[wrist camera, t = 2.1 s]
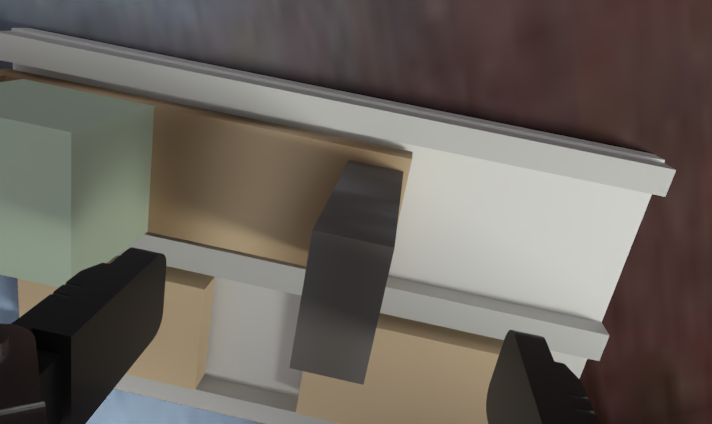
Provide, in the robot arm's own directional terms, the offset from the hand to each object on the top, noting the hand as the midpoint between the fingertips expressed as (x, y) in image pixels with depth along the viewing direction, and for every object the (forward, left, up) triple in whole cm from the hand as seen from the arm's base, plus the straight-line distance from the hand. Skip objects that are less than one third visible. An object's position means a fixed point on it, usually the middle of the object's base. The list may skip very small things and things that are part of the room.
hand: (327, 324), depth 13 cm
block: (+11, 0, -8) cm, 13 cm away
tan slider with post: (+7, 0, -9) cm, 11 cm away
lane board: (+2, +4, -11) cm, 11 cm away
